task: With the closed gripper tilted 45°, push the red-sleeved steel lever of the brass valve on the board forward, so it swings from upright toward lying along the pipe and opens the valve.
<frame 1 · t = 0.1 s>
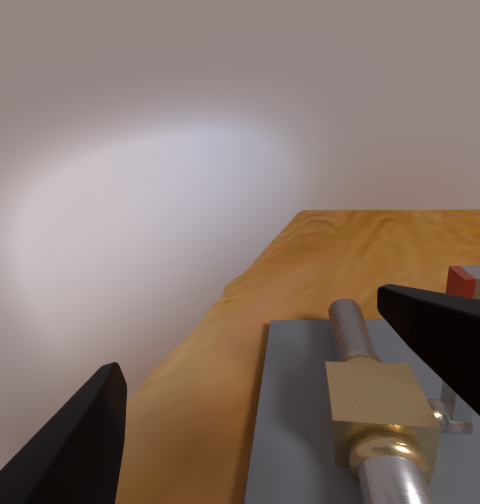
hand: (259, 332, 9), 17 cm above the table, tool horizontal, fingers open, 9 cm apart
lever: (456, 359, 16), point 8 cm above the table, hinge at 0.0°
mounting board: (372, 441, 20), on the table
valve: (372, 441, 20), resting on mounting board
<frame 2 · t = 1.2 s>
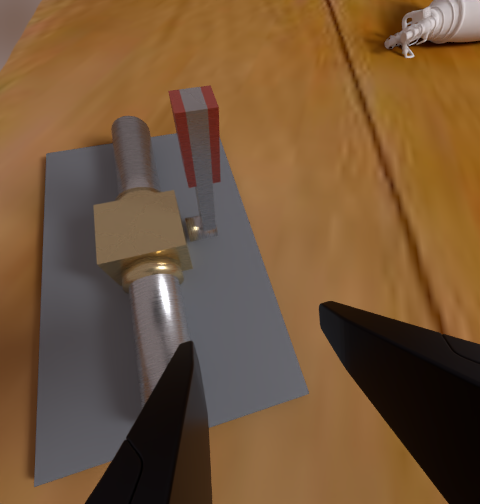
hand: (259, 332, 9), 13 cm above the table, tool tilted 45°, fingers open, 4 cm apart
lever: (198, 186, 18), point 8 cm above the table, hinge at 0.0°
rocket engine: (428, 40, 44), on the table
mounting board: (156, 256, 24), on the table
valve: (156, 256, 24), resting on mounting board
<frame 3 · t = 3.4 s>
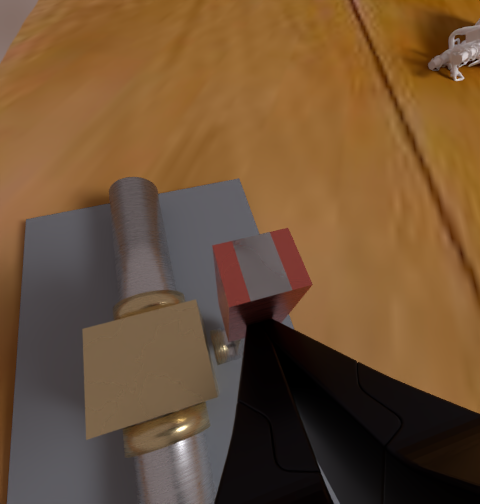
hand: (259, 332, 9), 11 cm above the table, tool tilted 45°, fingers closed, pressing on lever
lever: (238, 323, 12), point 8 cm above the table, hinge at 1.0°, touching gripper
rocket engine: (473, 57, 38), on the table
mounting board: (168, 367, 18), on the table
valve: (168, 367, 18), resting on mounting board
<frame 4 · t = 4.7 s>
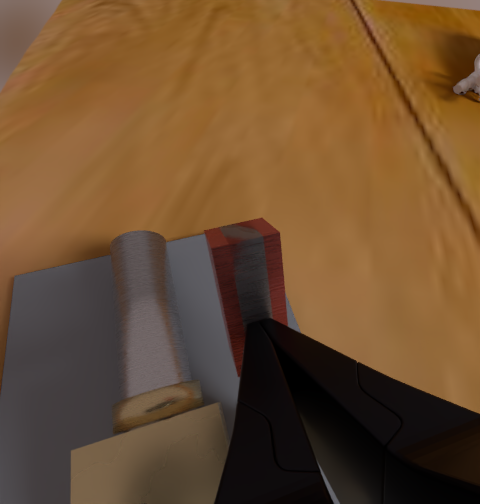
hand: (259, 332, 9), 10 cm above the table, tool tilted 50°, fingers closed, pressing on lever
lever: (252, 374, 11), point 7 cm above the table, hinge at 37.7°, touching gripper
mounting board: (179, 468, 15), on the table
valve: (179, 468, 15), resting on mounting board
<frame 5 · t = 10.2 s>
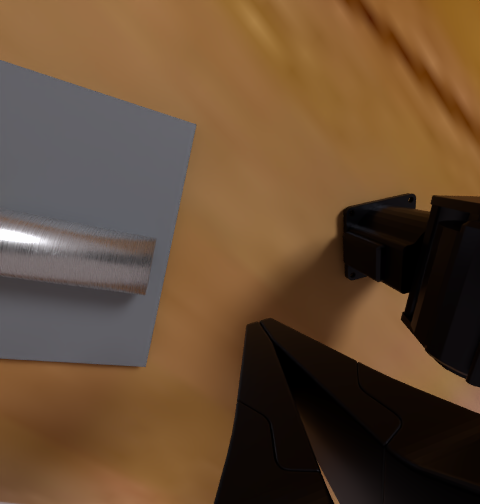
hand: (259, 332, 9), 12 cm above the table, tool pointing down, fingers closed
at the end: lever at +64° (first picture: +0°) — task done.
